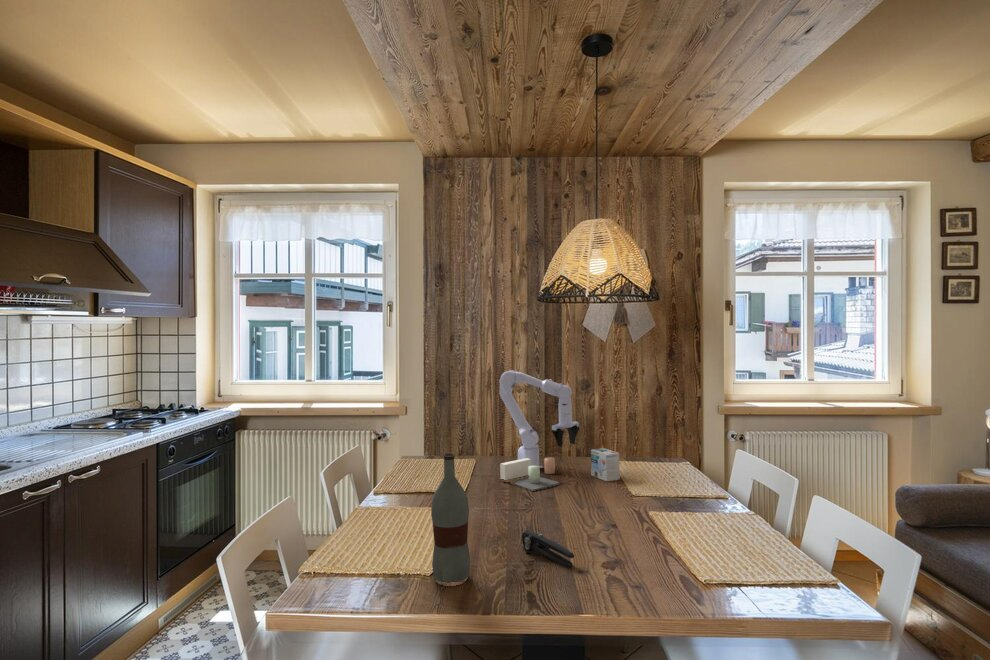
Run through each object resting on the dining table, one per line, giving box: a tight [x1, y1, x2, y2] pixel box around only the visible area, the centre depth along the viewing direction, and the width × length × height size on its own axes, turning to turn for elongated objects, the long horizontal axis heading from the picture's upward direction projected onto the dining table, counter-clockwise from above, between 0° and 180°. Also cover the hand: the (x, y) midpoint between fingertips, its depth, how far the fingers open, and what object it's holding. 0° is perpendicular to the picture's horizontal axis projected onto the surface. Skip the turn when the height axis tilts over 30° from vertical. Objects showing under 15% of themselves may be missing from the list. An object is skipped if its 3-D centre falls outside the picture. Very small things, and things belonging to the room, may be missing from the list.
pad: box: [515, 476, 561, 492], centre depth 203 cm, size 14×14×1 cm
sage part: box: [528, 465, 541, 484], centre depth 203 cm, size 4×4×6 cm
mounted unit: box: [499, 458, 531, 480], centre depth 212 cm, size 4×15×7 cm, turn 128°
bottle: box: [430, 453, 471, 583], centre depth 126 cm, size 9×9×30 cm
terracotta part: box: [543, 456, 556, 475], centre depth 220 cm, size 4×4×6 cm
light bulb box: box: [590, 447, 621, 482], centre depth 211 cm, size 11×7×11 cm, turn 25°
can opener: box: [521, 529, 575, 568], centre depth 137 cm, size 18×7×6 cm, turn 39°
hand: (566, 444), depth 226 cm, fingers open, 7 cm apart
